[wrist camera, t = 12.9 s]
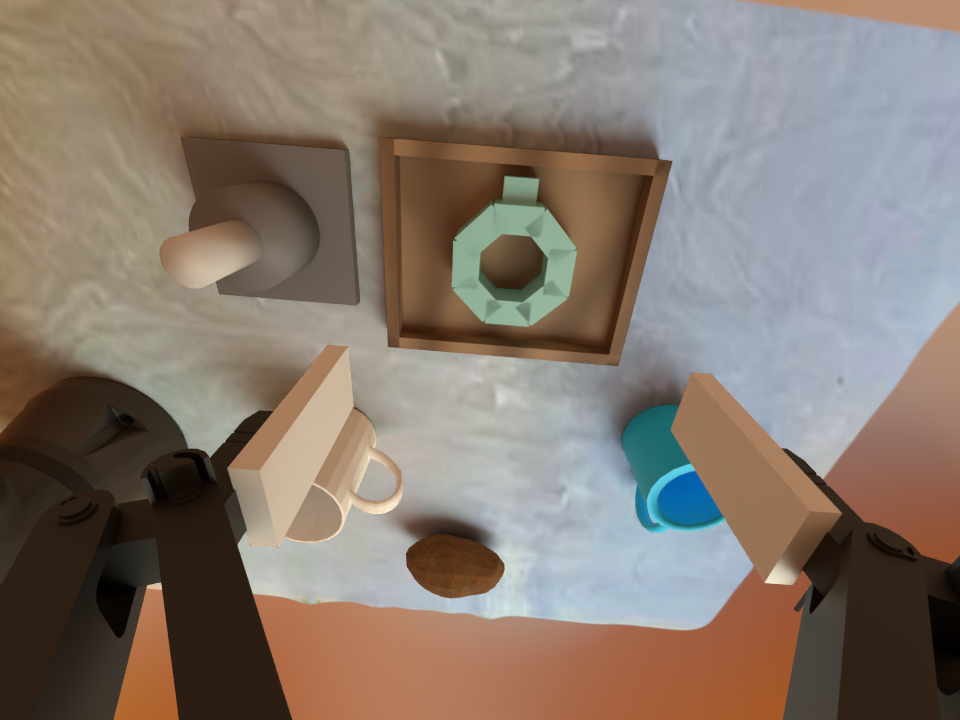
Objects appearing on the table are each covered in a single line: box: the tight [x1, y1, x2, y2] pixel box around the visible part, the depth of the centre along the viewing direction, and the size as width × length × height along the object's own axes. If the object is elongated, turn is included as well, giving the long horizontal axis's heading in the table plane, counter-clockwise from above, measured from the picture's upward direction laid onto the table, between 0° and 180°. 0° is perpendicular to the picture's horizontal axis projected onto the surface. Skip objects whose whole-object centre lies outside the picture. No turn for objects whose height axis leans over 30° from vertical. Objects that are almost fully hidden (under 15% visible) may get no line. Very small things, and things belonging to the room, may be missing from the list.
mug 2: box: [622, 404, 726, 532], centre depth 39 cm, size 12×8×8 cm
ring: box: [452, 174, 577, 327], centre depth 31 cm, size 9×11×3 cm
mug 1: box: [284, 408, 403, 543], centre depth 39 cm, size 12×8×10 cm, turn 88°
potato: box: [406, 534, 505, 598], centre depth 48 cm, size 7×12×7 cm, turn 83°
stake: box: [160, 137, 360, 305], centre depth 28 cm, size 12×12×12 cm
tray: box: [379, 138, 672, 366], centre depth 33 cm, size 20×16×2 cm
